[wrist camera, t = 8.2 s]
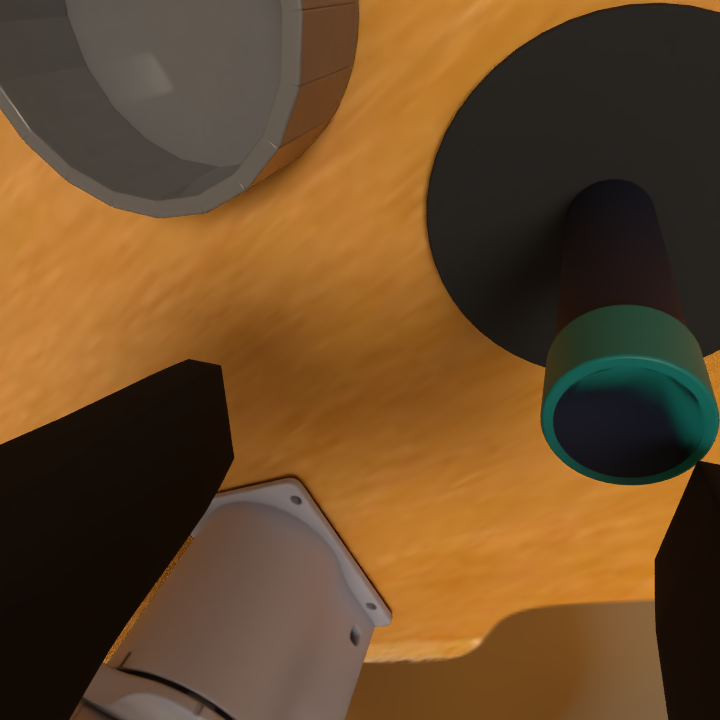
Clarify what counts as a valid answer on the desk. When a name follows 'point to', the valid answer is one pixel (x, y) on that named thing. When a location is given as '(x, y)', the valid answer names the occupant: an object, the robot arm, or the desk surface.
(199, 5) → the pot
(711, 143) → the coaster
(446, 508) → the desk surface
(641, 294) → the flashlight
